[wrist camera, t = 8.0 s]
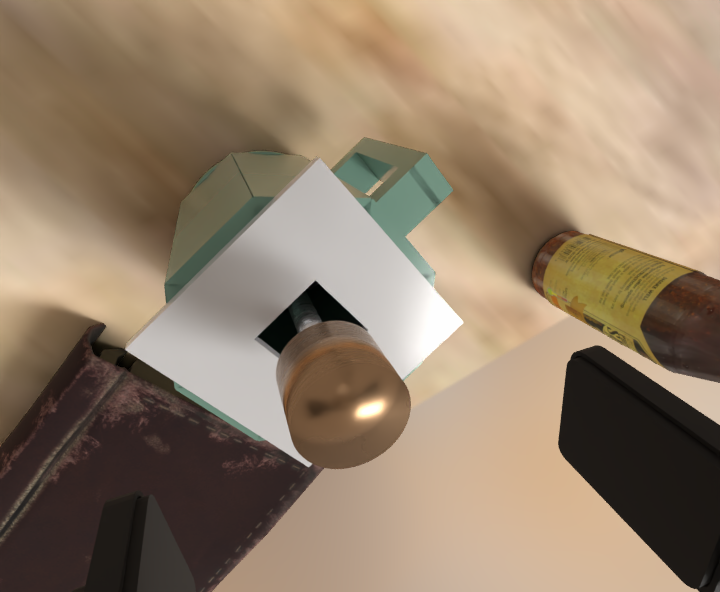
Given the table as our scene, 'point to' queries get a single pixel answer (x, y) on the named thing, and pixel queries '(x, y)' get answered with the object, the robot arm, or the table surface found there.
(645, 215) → the table surface
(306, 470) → the diary
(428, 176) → the press carafe
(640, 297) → the sauce bottle
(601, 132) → the table surface
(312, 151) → the table surface
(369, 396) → the plunger
